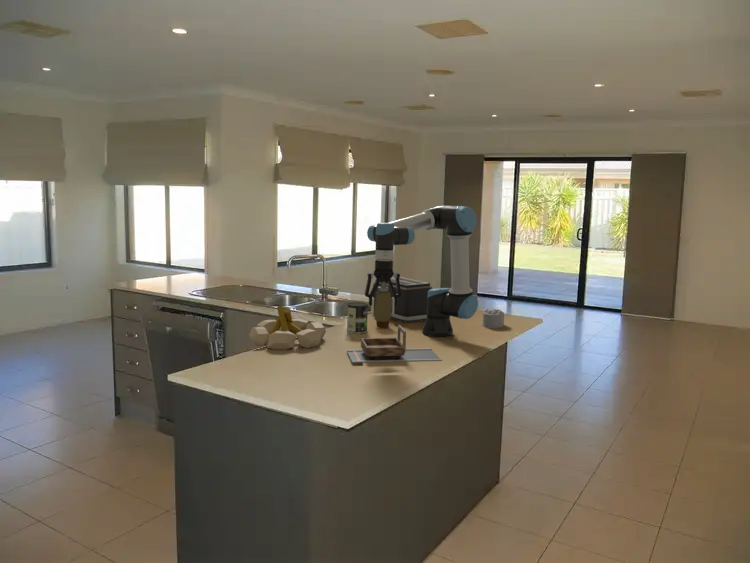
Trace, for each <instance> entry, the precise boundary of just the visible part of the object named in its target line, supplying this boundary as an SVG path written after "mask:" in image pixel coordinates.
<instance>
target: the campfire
mask: <svg viewBox="0 0 750 563" xmlns="http://www.w3.org/2000/svg"><path fill="white" fill-rule="evenodd" d="M276 310H277V314H278V316H277V317H276V319H267V320H266V319H265V320H262V321H260V322H259V323H257V324H256V327H252V328H251V331H250V333H249V337H250V340H251V341H252V343H253V344H255V346H257V347H262V346H267V349H271V350H289V349H291V348H293V347H294V346H295V344H296V343H295V342H296V339H297V341H298V344H299V346H300V347H302V348H304V349H305V348H306V349H311V348H315V346H316V347H318V346H319V344H320V343H321V340H323V338H324V336H325V335H326V333H327V330H326V328H325V327H324V325H323V323H321V322H320V321H316V322H309V320H305V319H302V318H293V316H292V312H291V308H289V307H286V306H284V305H278V306H277V307H276ZM280 329H281V330H280ZM310 347H311V348H310Z"/></svg>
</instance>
